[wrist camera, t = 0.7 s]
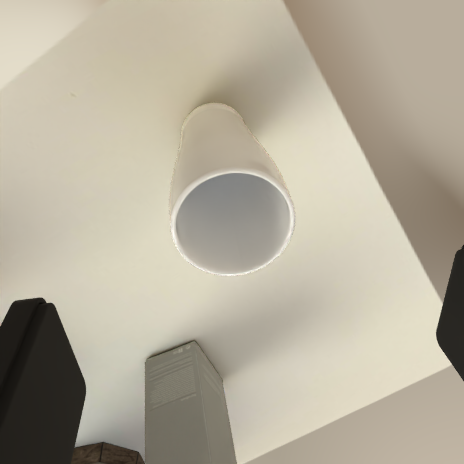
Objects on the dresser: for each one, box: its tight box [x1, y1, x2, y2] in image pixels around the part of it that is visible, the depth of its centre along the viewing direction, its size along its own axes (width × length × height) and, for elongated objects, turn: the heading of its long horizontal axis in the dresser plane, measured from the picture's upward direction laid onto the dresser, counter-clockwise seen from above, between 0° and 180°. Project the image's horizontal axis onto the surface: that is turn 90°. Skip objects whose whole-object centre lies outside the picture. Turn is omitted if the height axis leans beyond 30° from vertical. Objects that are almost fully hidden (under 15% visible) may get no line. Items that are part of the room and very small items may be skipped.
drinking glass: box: [169, 103, 295, 276], centre depth 28 cm, size 7×7×15 cm
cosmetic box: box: [145, 341, 237, 464], centre depth 43 cm, size 8×7×16 cm
